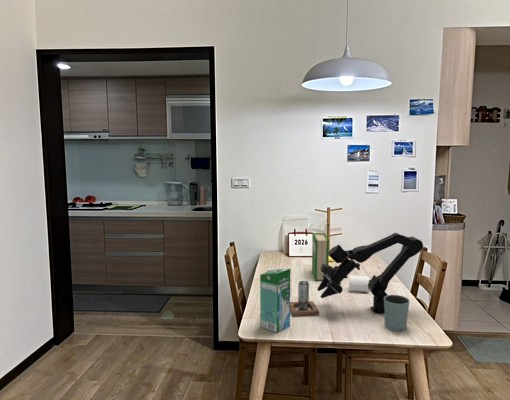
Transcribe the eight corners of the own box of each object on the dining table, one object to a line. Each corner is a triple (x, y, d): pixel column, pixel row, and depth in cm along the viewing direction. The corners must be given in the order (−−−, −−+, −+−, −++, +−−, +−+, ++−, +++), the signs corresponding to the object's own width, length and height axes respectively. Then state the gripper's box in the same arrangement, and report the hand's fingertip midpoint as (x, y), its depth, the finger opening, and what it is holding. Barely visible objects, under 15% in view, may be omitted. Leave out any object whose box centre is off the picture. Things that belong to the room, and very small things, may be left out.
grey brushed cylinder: (310, 311, 183) (311, 282, 182) (302, 313, 181) (302, 284, 179) (304, 308, 187) (304, 280, 186) (295, 310, 185) (296, 281, 183)
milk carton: (273, 320, 174) (273, 264, 171) (290, 325, 169) (290, 268, 166) (260, 327, 167) (259, 269, 164) (277, 333, 162) (277, 273, 159)
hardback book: (328, 281, 225) (328, 239, 222) (314, 281, 226) (315, 239, 223) (324, 271, 243) (324, 233, 240) (311, 271, 243) (312, 233, 240)
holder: (319, 315, 179) (319, 311, 178) (292, 316, 178) (292, 312, 177) (313, 305, 191) (313, 301, 190) (288, 306, 190) (288, 302, 189)
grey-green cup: (402, 321, 172) (403, 294, 171) (412, 331, 162) (413, 303, 161) (379, 321, 172) (380, 294, 171) (387, 332, 162) (388, 303, 161)
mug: (369, 294, 205) (369, 279, 204) (349, 293, 207) (349, 278, 206) (368, 286, 216) (368, 272, 215) (349, 285, 219) (349, 271, 218)
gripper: (327, 252, 190) (304, 275, 192) (335, 263, 172) (309, 289, 173) (343, 268, 191) (320, 291, 193) (353, 281, 173) (327, 306, 174)
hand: (319, 293), depth 183 cm, fingers open, 9 cm apart
